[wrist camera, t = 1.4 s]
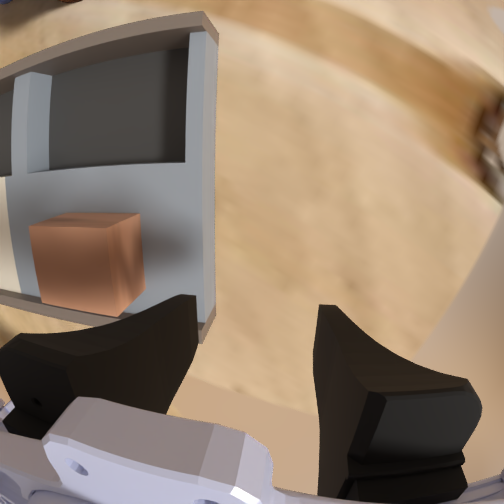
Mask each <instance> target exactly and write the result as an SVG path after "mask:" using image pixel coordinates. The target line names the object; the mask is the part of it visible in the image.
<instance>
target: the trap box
mask: <svg viewBox="0 0 504 504" xmlns="http://www.w3.org/2000/svg"><path fill="white" fill-rule="evenodd" d="M218 40H219V33H218V32H217V30H216V29H215V27H214V26H213V24H212V23H211V21H210V20H209V19H208V17H207V16H206V14H205V13H204V11H198V12H190V13H183V14H176V15H169V16H163V17H158V18H152V19H147V20H142V21H138V22H133V23H129V24H124V25H120V26H116V27H112V28H108V29H105V30H101V31H98V32H94V33H91V34H87V35H84V36H81V37H78V38H75V39H72V40H69V41H66V42H63V43H60V44H58V45H55V46H52V47H50V48H47V49H44V50H42V51H39V52H37V53H34V54H32V55H30V56H27V57H25V58H23V59H20V60H18V61H16V62H14V63H12V64H10V65H7V66H5V67H3V68H1V69H0V304H2V305H6V306H10V307H13V308H17V309H21V310H24V311H28V312H32V313H36V314H40V315H44V316H48V317H53V318H57V319H61V320H66V321H70V322H75V323H79V324H84V325H89V326H94V327H98V326H102V325H105V324H109V323H112V322H115V321H118V320H121V319H124V318H127V317H129V316H131V315H134V314H136V313H139V312H141V311H143V310H146V309H148V308H150V307H152V306H154V305H156V304H158V303H161V302H163V301H165V300H167V299H169V298H171V297H174V296H176V295H179V294H187V295H196V300H197V319H198V335H199V344H202V343H203V341H204V339H205V337H206V335H207V333H208V331H209V329H210V327H211V325H212V322H213V320H214V318H215V316H216V292H215V125H216V89H217V62H218ZM64 213H140V222H141V238H142V252H143V264H144V275H145V285H146V289H145V290H144V291H143V292H142V293H141V294H140V295H139V296H138V297H137V298H136V299H135V300H134V301H133V302H132V303H131V304H130V305H129V306H128V307H127V308H126V309H125V310H124V311H123V312H122V313H121V314H120V315H119V316H118V317H114V316H108V315H103V314H97V313H91V312H86V311H81V310H75V309H70V308H65V307H60V306H55V305H50V304H46V303H42V300H41V296H40V291H39V286H38V281H37V276H36V271H35V266H34V260H33V254H32V247H31V240H30V233H29V226H30V225H33V224H36V223H38V222H41V221H44V220H47V219H50V218H53V217H56V216H58V215H61V214H64Z"/></svg>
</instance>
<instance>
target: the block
mask: <svg viewBox="0 0 504 504" xmlns="http://www.w3.org/2000/svg"><path fill="white" fill-rule="evenodd" d="M29 233H30V240H31V247H32V254H33V260H34V266H35V271H36V276H37V281H38V286H39V291H40V296H41V300H42V303H46V304H50V305H55V306H60V307H65V308H70V309H75V310H81V311H86V312H91V313H97V314H103V315H108V316H114V317H118V316H119V315H120V314H121V313H122V312H123V311H124V310H125V309H126V308H127V307H128V306H129V305H130V304H131V303H132V302H133V301H134V300H135V299H136V298H137V297H138V296H139V295H140V294H141V293H142V292H143V291H144V290H145V289H146V285H145V275H144V264H143V252H142V238H141V222H140V213H64V214H61V215H58V216H56V217H53V218H50V219H47V220H44V221H41V222H38V223H36V224H33V225H30V226H29Z"/></svg>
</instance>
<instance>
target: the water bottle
mask: <svg viewBox="0 0 504 504" xmlns="http://www.w3.org/2000/svg"><path fill="white" fill-rule="evenodd" d="M10 1H12V0H0V4H6V3H8V2H10Z"/></svg>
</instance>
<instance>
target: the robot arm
mask: <svg viewBox="0 0 504 504" xmlns="http://www.w3.org/2000/svg"><path fill="white" fill-rule="evenodd" d="M198 343H199V335H198V319H197V300H196V295H187V294H179V295H176V296H174V297H171V298H169V299H167V300H165V301H163V302H161V303H158V304H156V305H154V306H152V307H150V308H148V309H146V310H143V311H141V312H139V313H136V314H134V315H131V316H129V317H127V318H124V319H121V320H118V321H115V322H112V323H109V324H105V325H102V326H98V327H93V328H88V329H83V330H78V331H71V332H62V333H48V334H30V333H20V334H18V335H17V336H15V337H14V338H13V339H12V340H10V341H9V342H8V343H7V344H5V345H4V346H3V347H1V348H0V377H1V379H2V381H3V383H4V385H5V388H6V390H7V392H8V394H9V396H10V398H11V400H10V401H9V402H8V403H7V404H6V405H5V406H3V405H4V404H5V402H4V401H3V400H2V399H0V504H504V469H503V470H502V472H501V474H499V475H496V476H493V477H490V478H486V479H483V480H480V481H476V482H473V483H469V484H467V481H466V478H465V475H464V473H463V470H462V467H461V465H463V464H464V462H465V457H464V455H463V452H462V449H463V447H464V446H465V444H466V443H467V441H468V440H469V438H470V436H471V435H472V433H473V431H474V430H475V428H476V426H477V424H478V422H479V420H480V417H481V413H482V405H481V401H480V399H479V397H478V395H477V394H476V392H475V390H474V389H473V387H472V386H471V384H470V382H469V381H468V379H465V378H461V377H456V376H452V375H447V374H443V373H440V372H436V371H434V370H430V369H428V368H425V367H422V366H420V365H417V364H415V363H413V362H411V361H409V360H406V359H404V358H402V357H400V356H398V355H397V354H395V353H393V352H391V351H390V350H388V349H387V348H385V347H383V346H382V345H380V344H379V343H378V342H376V341H375V340H374V339H372V338H371V337H370V336H368V335H367V334H366V333H365V332H364V331H362V330H361V329H360V328H359V327H358V326H357V325H356V324H355V323H354V322H353V321H352V320H350V319H349V318H348V317H347V316H346V315H345V314H344V313H343V312H342V311H341V310H340V309H339V308H338V307H337V306H336V305H322V304H319V310H318V318H317V326H316V334H315V341H314V348H313V376H314V383H315V391H316V398H317V406H318V414H319V425H320V450H319V477H318V493H317V494H318V495H317V496H316V495H311V494H305V493H300V492H295V491H290V490H286V489H281V488H277V487H273V486H272V473H273V472H272V471H273V462H272V459H271V456H270V454H269V451H268V448H267V447H265V446H264V445H262V444H261V443H259V442H258V441H257V440H255V439H254V438H252V437H251V436H250V435H248V434H247V433H245V432H243V431H240V430H237V429H233V428H229V427H226V426H223V425H220V424H216V423H210V422H203V421H197V420H191V419H186V418H180V417H175V416H170V415H166V413H167V411H168V409H169V406H170V404H171V402H172V400H173V398H174V396H175V394H176V392H177V390H178V388H179V387H180V385H181V383H182V381H183V379H184V377H185V375H186V373H187V371H188V369H189V367H190V365H191V363H192V361H193V358H194V355H195V352H196V349H197V346H198Z"/></svg>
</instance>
